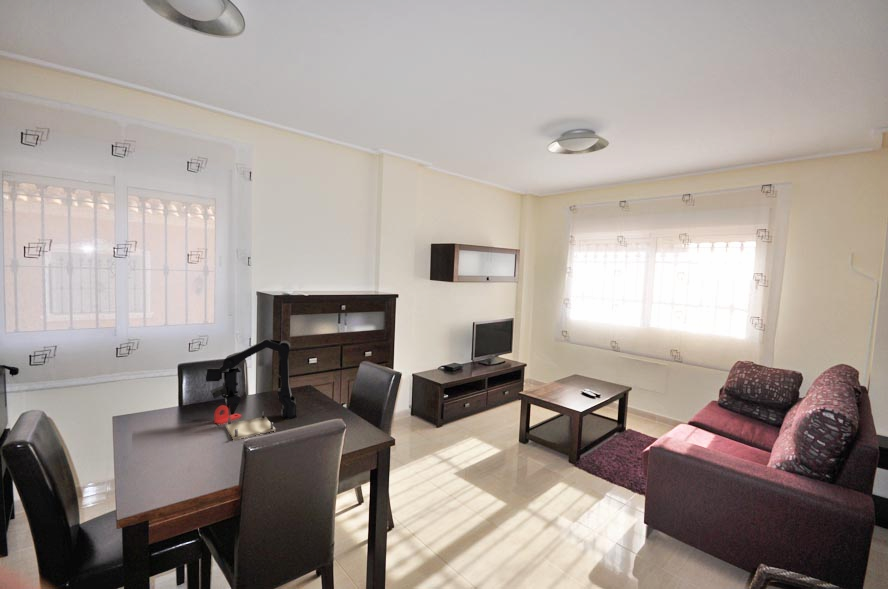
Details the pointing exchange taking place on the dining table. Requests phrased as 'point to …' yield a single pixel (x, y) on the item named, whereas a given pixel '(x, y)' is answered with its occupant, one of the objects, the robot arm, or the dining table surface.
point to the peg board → (249, 427)
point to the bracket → (224, 415)
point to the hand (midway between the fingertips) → (230, 411)
